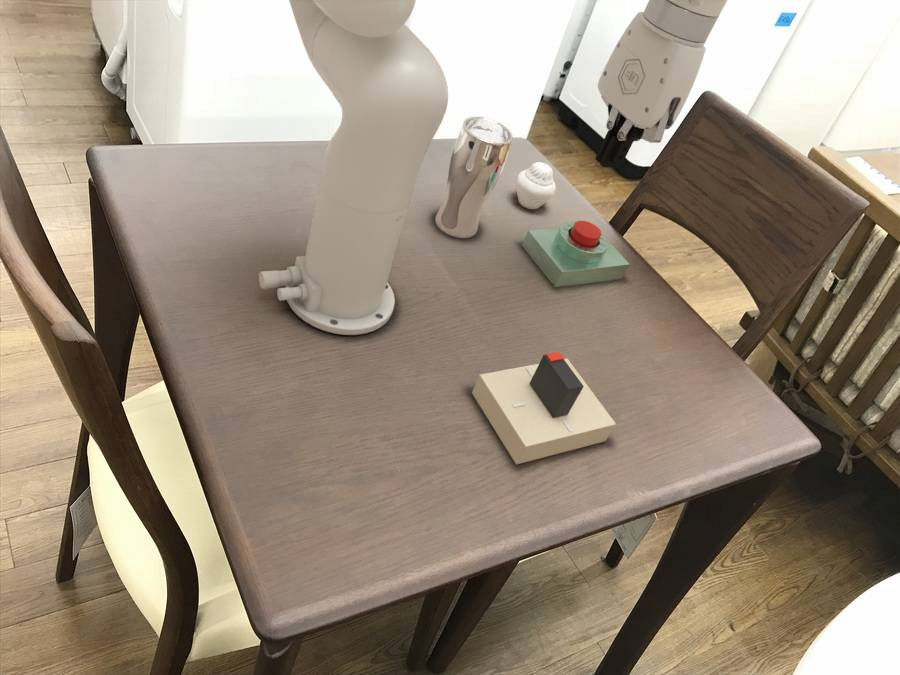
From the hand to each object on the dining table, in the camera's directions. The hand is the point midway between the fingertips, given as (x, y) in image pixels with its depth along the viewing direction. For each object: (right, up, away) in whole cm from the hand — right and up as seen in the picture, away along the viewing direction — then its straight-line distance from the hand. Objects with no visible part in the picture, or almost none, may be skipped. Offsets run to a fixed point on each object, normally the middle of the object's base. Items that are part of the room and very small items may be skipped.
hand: (607, 163), depth 95 cm
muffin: (-8, -1, +22) cm, 23 cm away
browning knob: (-9, -28, -13) cm, 32 cm away
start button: (-1, -8, +11) cm, 13 cm away
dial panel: (-10, -30, -11) cm, 34 cm away
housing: (-2, -11, +13) cm, 17 cm away
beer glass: (-19, -6, +12) cm, 23 cm away
